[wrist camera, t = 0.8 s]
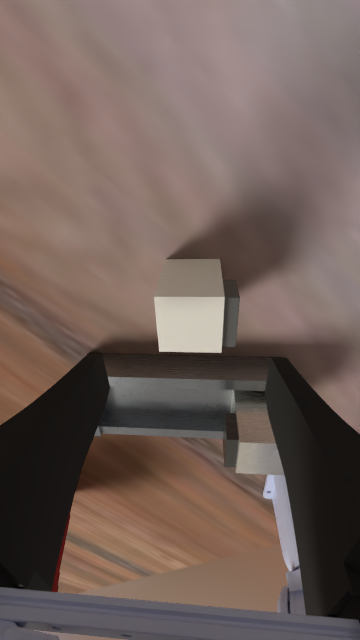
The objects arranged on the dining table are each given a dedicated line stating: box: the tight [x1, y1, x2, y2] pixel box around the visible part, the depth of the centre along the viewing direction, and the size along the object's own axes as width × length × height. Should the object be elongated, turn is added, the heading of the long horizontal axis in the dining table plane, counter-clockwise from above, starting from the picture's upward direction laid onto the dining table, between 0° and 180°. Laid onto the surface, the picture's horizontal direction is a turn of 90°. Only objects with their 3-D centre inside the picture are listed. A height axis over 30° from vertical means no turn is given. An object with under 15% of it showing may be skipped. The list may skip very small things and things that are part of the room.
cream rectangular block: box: [154, 259, 240, 353], centre depth 18 cm, size 4×4×5 cm
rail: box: [87, 354, 285, 476], centre depth 23 cm, size 7×16×7 cm, turn 92°
